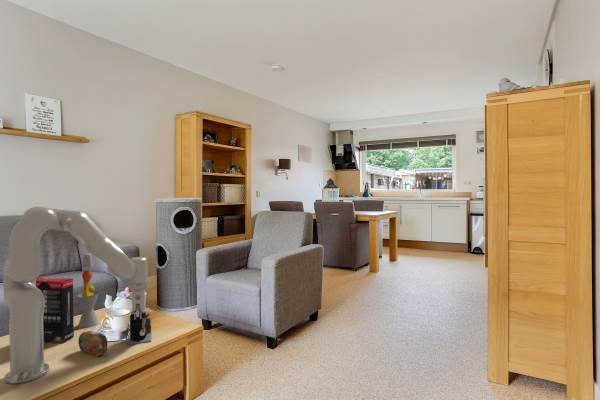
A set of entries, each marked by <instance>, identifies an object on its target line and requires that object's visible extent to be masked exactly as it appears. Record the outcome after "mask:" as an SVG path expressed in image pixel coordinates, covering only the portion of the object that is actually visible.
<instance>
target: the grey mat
mask: <svg viewBox="0 0 600 400" xmlns="http://www.w3.org/2000/svg"><path fill="white" fill-rule="evenodd" d="M128 336H129V338H128V339H127V338H126V339H127V340H125V346H131V345H132V346H133V345H138V344H143V343H151V342H152V332H151V333H150V332H148V333H147V332H146V337H145V338H144V339H143V340H140V341H132V340H131V339H130V335H128Z"/></svg>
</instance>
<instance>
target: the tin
mask: <svg viewBox="0 0 600 400" xmlns="http://www.w3.org/2000/svg"><path fill="white" fill-rule="evenodd" d="M77 343H78V347H79V350H80V351H81V352H82V353H83V354H87V355H90V356H93V357H99V356H102V355H104V354H105V353H106V352H107V350H108V338H107V337H106V335H105V334H104V333H100V332H96V331H93V330H87V331H83V332H81V333H80V334H79V337H78V342H77Z"/></svg>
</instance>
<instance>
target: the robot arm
mask: <svg viewBox="0 0 600 400" xmlns="http://www.w3.org/2000/svg"><path fill="white" fill-rule="evenodd" d="M46 231H58V232H69V233H70V234H71V235H72V236H73V237H74V238H75V239H76V240H77V242H79V243H80V244H81V245H82V247H83V248H84V249H85V250H86V251H87V252H88V253H89V254H91V255H92V256H94V257H96V258H98V259H99V260H101V261H102V262H104V263H105V264H106V266H107V267H106V269H107V270H106V271H107V273H108V274H109V275H110V276H112V277H115V278H118V279H120V280H128V290H129V292H131V307H132V309H131V310H132V311H133V313H134V329H136V328H142V318H141V313H142V312H143V313H144V312H145V313H146V290H147V289H148V286H149V285H148V281H149V280H148V258H147V257H145V256H136V257H131V258H129V257H128V255H127V254H126V253H124V251H123V250H122V249H121V248H119V246H118V245H116V244H115V243H114V242H113V241H112V240H111V239H110V238H109V237H108V236H107V235H106V234H105V233H104V232H103V231H102V230H101V229H100V227H98V225H96V223H95V222H94V221H93V220H92V219H91V217H89V216H88V215H87V214H86V213H85V212H83V211H80V210H79V211H77V210H66V209H58V208H57V209H56V208H49V207H44V206H32V207H30V208H28V209H27V210H26V211H25V212H24V213H23V215H22V217H21V218H20V219H19V220H18V221H17V222H16V224H15V225H14V226H13V228H12V230H11V232H10V234H9V241H8V248H9V249H8V258H7V259H6V260H5V262H4V264H3V266H2V280H3V281H2V282H3V283H2V285H3V299H4V301H5V303H6V305H7V306H8V307H9V324H8V326H9V328H8V330H9V331H8V335H9V372H7V373H5V375H4V377H3V380H4V381H3V382H5V383H6V384H11V385H13V384H14V385H15V384H22V383H27V382H31V381H33V380H36V379H38V378H41V377H43V376H44V375H45V374H47V373H48V372H49V370H50V364H48V363H46V362H45V351H44V350H45V348H44V347H45V345H44V344H45V342H44V330H43V314H44V305H45V299H44V295H43V293H42V292H41V290H40V289H38V288H37V287H36V278H38V277H39V276H40V275H41V270H42V269H41V268H42V266H41V265H42V263H41V253H40V252H41V251H40V245H41V238H42V236H43V235H44V233H46Z"/></svg>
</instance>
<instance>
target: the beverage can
mask: <svg viewBox="0 0 600 400" xmlns="http://www.w3.org/2000/svg"><path fill="white" fill-rule="evenodd" d="M141 318H142V328H136V329H134V313H133V310H132V311H131V312H130V315H129V321H130V329H129V336H130V339H131V340H132V341H140V340H143V339H144V338H145V337H146V334H147V327H146V318H147V312H146V311H145V312H144V313H143V312H142V313H141Z"/></svg>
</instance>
